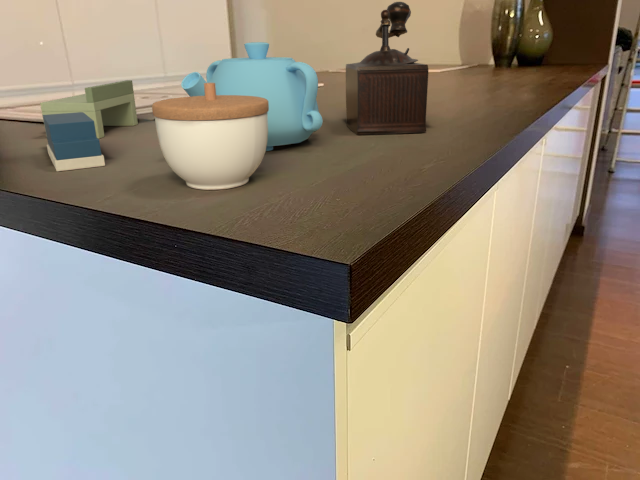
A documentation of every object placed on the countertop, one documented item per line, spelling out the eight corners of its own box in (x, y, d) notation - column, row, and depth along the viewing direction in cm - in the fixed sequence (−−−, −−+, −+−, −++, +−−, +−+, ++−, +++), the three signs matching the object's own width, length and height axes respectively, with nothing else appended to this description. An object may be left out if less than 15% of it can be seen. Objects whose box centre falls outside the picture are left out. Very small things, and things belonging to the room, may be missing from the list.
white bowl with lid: (217, 164, 60) (209, 77, 57) (293, 177, 54) (290, 80, 51) (138, 186, 52) (124, 85, 48) (218, 203, 46) (209, 90, 43)
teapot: (355, 141, 72) (356, 40, 67) (253, 171, 57) (246, 44, 52) (247, 128, 83) (242, 41, 78) (138, 151, 68) (123, 44, 63)
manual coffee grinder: (431, 132, 77) (440, -5, 71) (355, 135, 76) (357, -4, 70) (403, 117, 92) (408, 2, 85) (339, 119, 90) (339, 3, 84)
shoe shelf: (46, 138, 77) (36, 88, 75) (92, 124, 89) (85, 80, 87) (99, 138, 77) (91, 87, 74) (138, 124, 89) (132, 80, 86)
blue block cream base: (48, 154, 67) (40, 114, 65) (90, 149, 69) (84, 111, 68) (56, 171, 58) (47, 126, 56) (105, 165, 60) (98, 122, 59)
